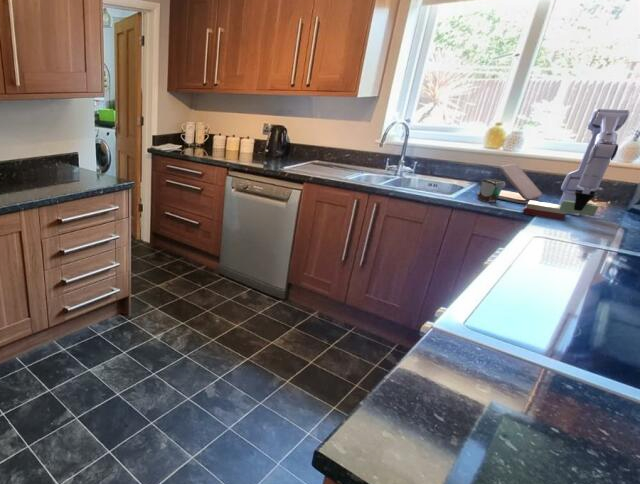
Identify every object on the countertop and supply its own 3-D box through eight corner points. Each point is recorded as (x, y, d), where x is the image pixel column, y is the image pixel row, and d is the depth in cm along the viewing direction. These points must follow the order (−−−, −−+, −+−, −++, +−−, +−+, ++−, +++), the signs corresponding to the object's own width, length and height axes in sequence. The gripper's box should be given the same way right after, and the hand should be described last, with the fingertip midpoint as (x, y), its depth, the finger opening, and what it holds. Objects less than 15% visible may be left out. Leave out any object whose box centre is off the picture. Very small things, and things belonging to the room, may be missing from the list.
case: (525, 205, 201) (538, 171, 195) (474, 195, 217) (485, 163, 211) (542, 201, 210) (555, 168, 204) (492, 191, 227) (503, 161, 221)
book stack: (525, 209, 193) (528, 199, 191) (564, 215, 184) (568, 206, 183) (522, 213, 186) (526, 203, 184) (563, 220, 177) (567, 210, 175)
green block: (559, 208, 176) (563, 199, 175) (593, 214, 170) (598, 204, 168) (559, 210, 173) (563, 201, 172) (593, 216, 167) (598, 206, 165)
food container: (504, 205, 199) (512, 184, 195) (490, 203, 200) (497, 183, 196) (489, 198, 210) (496, 178, 207) (475, 197, 211) (482, 177, 208)
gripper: (607, 179, 158) (591, 214, 164) (606, 175, 168) (591, 208, 173) (581, 176, 163) (566, 210, 168) (582, 172, 173) (567, 204, 178)
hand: (577, 209), depth 171 cm, fingers closed on green block, 5 cm apart
